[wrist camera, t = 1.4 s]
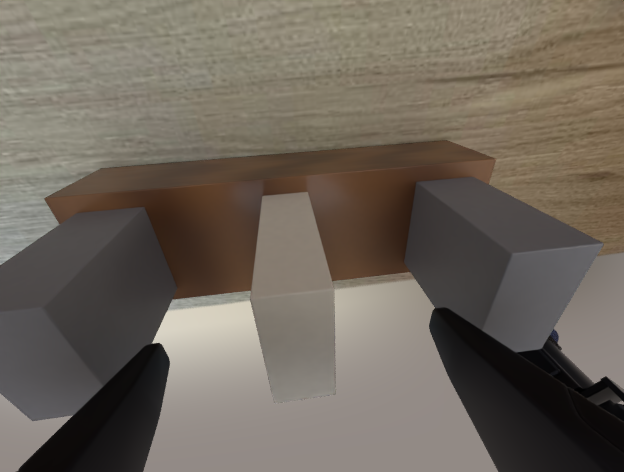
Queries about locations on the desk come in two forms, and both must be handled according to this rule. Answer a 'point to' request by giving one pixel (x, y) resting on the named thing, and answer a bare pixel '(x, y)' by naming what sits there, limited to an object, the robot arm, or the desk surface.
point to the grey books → (161, 286)
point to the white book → (293, 300)
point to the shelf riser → (273, 181)
